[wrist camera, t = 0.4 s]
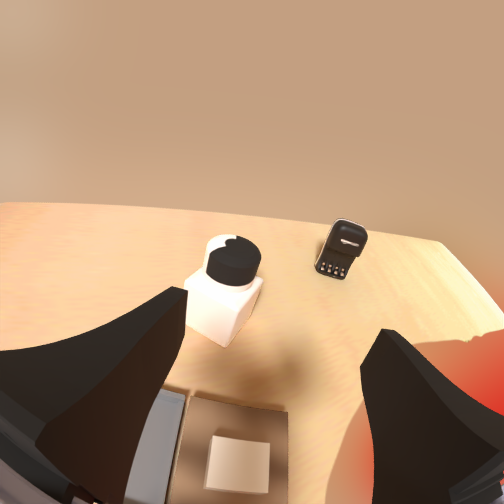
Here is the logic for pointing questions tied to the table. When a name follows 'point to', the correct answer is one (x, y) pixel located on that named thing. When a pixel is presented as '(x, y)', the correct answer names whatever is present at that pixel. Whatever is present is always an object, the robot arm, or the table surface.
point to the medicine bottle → (224, 288)
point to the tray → (155, 451)
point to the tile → (237, 466)
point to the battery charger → (341, 248)
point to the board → (235, 427)
